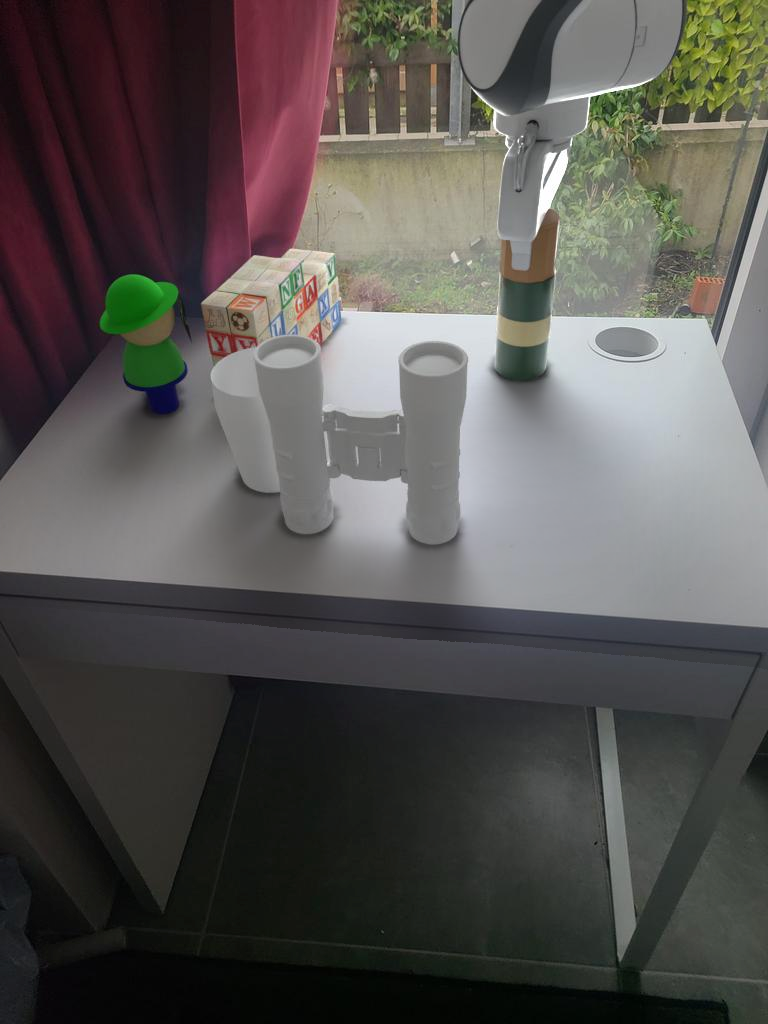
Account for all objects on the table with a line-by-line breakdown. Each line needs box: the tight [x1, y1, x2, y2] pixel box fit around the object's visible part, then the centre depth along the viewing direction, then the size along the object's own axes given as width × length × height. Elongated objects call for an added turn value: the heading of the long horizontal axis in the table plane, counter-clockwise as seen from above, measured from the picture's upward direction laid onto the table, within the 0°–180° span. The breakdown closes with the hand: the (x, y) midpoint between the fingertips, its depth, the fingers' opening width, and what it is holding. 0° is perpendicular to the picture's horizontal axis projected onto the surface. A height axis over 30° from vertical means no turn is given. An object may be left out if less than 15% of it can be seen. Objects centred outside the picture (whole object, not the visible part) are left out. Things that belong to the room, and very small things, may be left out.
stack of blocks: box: [200, 248, 342, 367], centre depth 95 cm, size 21×6×12 cm, turn 159°
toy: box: [99, 274, 193, 416], centre depth 88 cm, size 9×9×15 cm
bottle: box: [493, 269, 557, 381], centre depth 90 cm, size 6×6×17 cm
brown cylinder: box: [499, 207, 561, 283], centre depth 86 cm, size 6×6×6 cm
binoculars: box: [253, 335, 469, 545], centre depth 70 cm, size 17×5×18 cm, turn 81°
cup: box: [210, 347, 280, 494], centre depth 78 cm, size 9×9×12 cm
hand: (529, 248), depth 86 cm, fingers open, 8 cm apart
